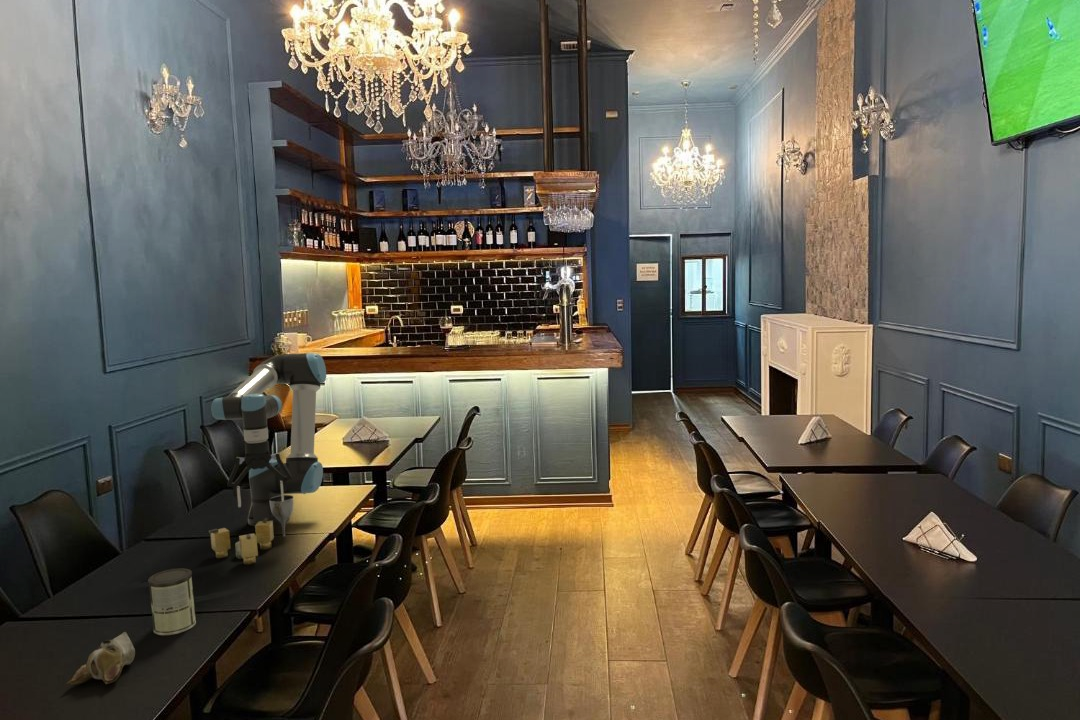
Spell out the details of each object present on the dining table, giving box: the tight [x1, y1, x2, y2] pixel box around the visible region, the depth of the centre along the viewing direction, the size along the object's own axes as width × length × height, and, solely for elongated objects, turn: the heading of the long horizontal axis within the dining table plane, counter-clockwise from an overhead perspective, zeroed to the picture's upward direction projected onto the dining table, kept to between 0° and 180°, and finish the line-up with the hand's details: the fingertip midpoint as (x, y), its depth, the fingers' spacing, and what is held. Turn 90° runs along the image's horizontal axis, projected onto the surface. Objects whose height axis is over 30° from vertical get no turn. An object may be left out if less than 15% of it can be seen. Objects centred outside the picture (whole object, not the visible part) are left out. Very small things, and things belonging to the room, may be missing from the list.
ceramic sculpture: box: [66, 631, 136, 685], centre depth 179 cm, size 11×9×15 cm
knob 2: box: [238, 533, 259, 565], centre depth 246 cm, size 6×5×9 cm
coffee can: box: [147, 567, 197, 636], centre depth 203 cm, size 10×10×14 cm
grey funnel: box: [269, 494, 295, 537], centre depth 272 cm, size 8×8×15 cm
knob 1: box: [208, 527, 231, 559], centre depth 253 cm, size 6×5×9 cm
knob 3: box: [254, 518, 275, 550], centre depth 260 cm, size 6×5×9 cm
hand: (261, 503), depth 258 cm, fingers open, 13 cm apart
